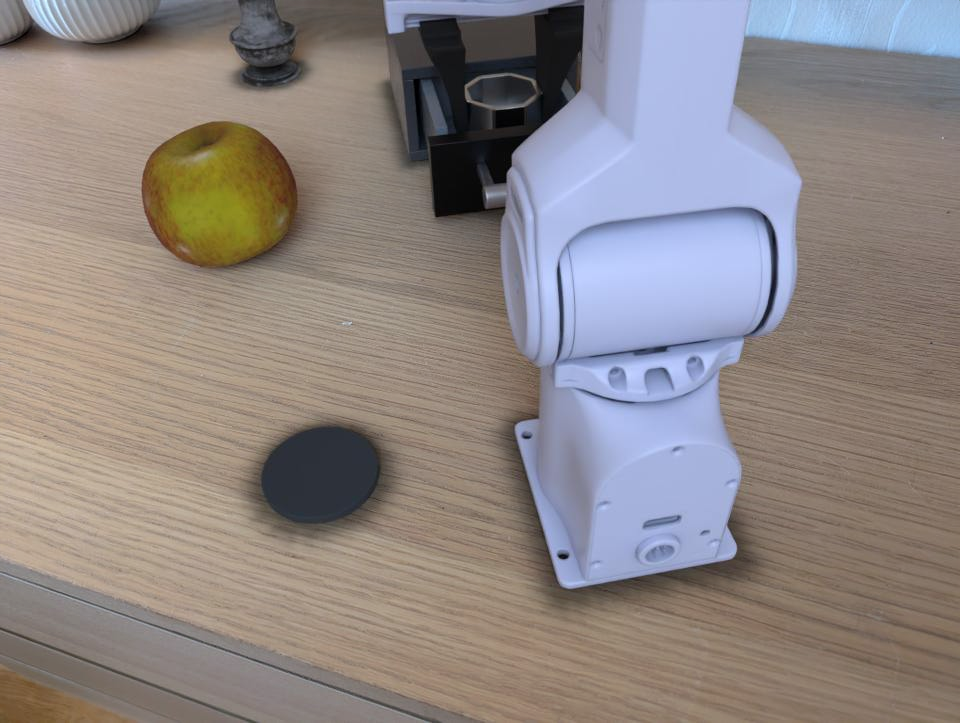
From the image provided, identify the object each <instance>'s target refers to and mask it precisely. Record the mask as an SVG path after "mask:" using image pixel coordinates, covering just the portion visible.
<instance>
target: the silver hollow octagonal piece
mask: <svg viewBox="0 0 960 723" xmlns="http://www.w3.org/2000/svg"><path fill="white" fill-rule="evenodd" d="M465 99H466V107H467V116H468V132H471V131H480V130H488V129H497V128H505V127H514V126H523V125H531V124H540V123H542V109H543V92H542V90H541V88H540V86H539V84H538V82H537V81H536V80H535V79H532V78H528V77H525V76H521V75H517V74H513V73H500V74H491V75H482V76H480V77H479V76H478V77H477V78H475V79H473V80H472V81H470V82H469V83H467V84H466V85H465Z"/></svg>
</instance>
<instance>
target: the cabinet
mask: <svg viewBox="0 0 960 723" xmlns="http://www.w3.org/2000/svg"><path fill="white" fill-rule="evenodd" d="M381 5H382V13H383V14H382V15H383V23H384V31H385V33H384V34H385V41H386V52H387V59H388V70H389V71H388V72H389V78H390V79H389V80H390V85H391V90H392V94H393V97H394V101H395V104H396V105H395V106H396V109H397V110H396V111H397V113H398V118H399V121H400V127H401V130H402V134H403V138H404V142H405V146H406V149H407V154H408V159H409V161H410V162H416V161H425V160H429V154H428V149H427V146H426V142H425V139H424V135H423V131H422V128H421V124H420V114H419V102H418V90H417V79H420V78H429V77H439V74H438V72H437V70H436V68H435V66H434V65H433V63H432V61H431V59H430V58H429V56H428V54H427V52H426V50H425V48H424V45H423V42H422V39H421V36H420V33H419V30H418V27H412V28H406V30H405V32H403V33H396V34H389V33H388V31H387V27H386V23H385V16H384V7H383V0H381ZM457 24H458V27H459V29H460V30H461V39H462V42H463V44H464V46H465V49H466V56H465V74H466V73H476V72H485V71H494V70H504V69H513V68H522V67H531V66H536V37H535V21H534V15H532V16H522V17H512V18H502V19H492V20H482V21H472V22H462V23H457ZM578 61H579V55H578V56H577V57H576V59H575V60H574V62H573V64H572V66H571V68H570V70H569V72H568V74H567V76H566V79H567V81H568V82H569V84H570V85H571V87H572V89H573V90H574V92H575V94H576V95H577V82H578V81H577V80H578V67H579V66H578V64H579V63H578Z"/></svg>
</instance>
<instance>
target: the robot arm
mask: <svg viewBox="0 0 960 723" xmlns="http://www.w3.org/2000/svg"><path fill="white" fill-rule="evenodd" d="M751 2H752V0H383V5H382V8H383V7H384V14H383V17H384V16H385V23H386V27H387V31H388V33H389V34H396V33H403V32H405V30H406V28H412V27H418V30H419V33H420V36H421V39H422V42H423V45H424V48H425V50H426V52H427V54H428V56H429V58H430V59H431V61H432V63H433V65H434V66H435V68H436V70H437V72H438V74H439V76H440V78H441V80H442V82H443V84H444V87H445V89H446V91H447V94H448V98H449V101H450V105H451V110H452V116H453V123H454V126H455V129H456V132H457V133H462V132H468V116H467V107H466V99H465V56H466V49H465V46H464V44H463V42H462V39H461V30H460V29H459V27H458V24H457V23H462V22H472V21H482V20H492V19H502V18H512V17H522V16H532V15H534V21H535V37H536V77H535V80H536V81H537V82H538V84H539V86H540V88H541V90H542V92H543V109H542V123H545V124H543V125H542V126H541V127H540V128H539V129H537V130H536V131H535V132H534V133H533V134H532V135H531V136H530V137H528V138H527V139H526V140H525V141H524V142H523V143H522V144H521V145H520V146H519V147H518V148H517V149H516V150H515V151H514V153H513V154H512V167H511V168H510V169H509V171H508V172H507V193H506V209H504V213H503V216H502V218H501V223H500V230H499V231H500V232H499V234H500V235H499V252H500V254H499V255H500V269H501V278H502V287H503V294H504V301H505V302H504V303H505V308H506V313H507V319H508V322H509V327H510V331H511V334H512V337H513V340H514V344H515V346H516V348H517V350H518V351H519V353H520V354H522V355H523V356H524V357H526V358H527V359H528V360H529V362H531V364H532V365H533V366H535V367H537V368H540V369H539V370H540V371H539V376H540V377H539V400H538V401H539V402H538V418H533V419H526V420H521V421H518V422H517V423H516V424H515V425H514V437H515V439H516V443H517V446H518V449H519V454H520V456H521V460H522V463H523V467H524V471H525V474H526V477H527V480H528V484H529V488H530V491H531V494H532V498H533V501H534V503H535V504H534V505H535V509H536V511H537V516H538V518H539V522H540V525H541V529H542V533H543V536H544V539H545V542H546V545H547V549H548V552H549V556H550V559H551V563H552V566H553V570H554V573H555V576H556V580H557V582H558V584H559V585H560V587H562V588H565V589H567V590H572V589H573V590H574V589H578V588H584V587H589V586H595V585H600V584H605V583H611V582H616V581H623V580H627V579H632V578H636V577H642V576H643V577H644V576H648V575H655V574H660V573H665V572H666V573H667V572H670V571H676V570H681V569H687V568H693V567H698V566H703V565H708V564H714V563H720V562H725V561H730V560H732V559H734V558H735V556H736V555H737V552H738V545H737V543H736V540H735V539H734V536H733V534H732V533H731V530H730V528H729V526H728V522H729V520H730V517H731V513H732V510H733V506H734V503H735V500H736V497H737V494H738V490H739V487H740V484H741V480H742V473H743V469H742V463H741V460H740V457H739V454H738V451H737V450H736V448H735V446H734V444H733V441H732V439H731V437H730V434H729V432H728V430H727V427H726V425H725V420H724V417H723V412H722V408H721V404H720V384H719V382H720V374H721V369H722V368H724V367H727V366H728V365H734V364H737V363H739V362H740V358H741V355H742V351H743V348H744V347H743V346H744V344H745V340H746V339H745V338H760V337H765V336H767V335H769V334H771V333H772V332H773V331H775V330H776V329H777V328H778V326H779V324H780V323H781V321H782V320H783V318H784V317H785V314H786V311H787V310H788V308H789V306H790V305H791V304H790V303H791V302H792V300H793V296H794V293H795V290H796V285H797V278H798V267H799V266H798V265H799V264H798V262H799V260H798V259H799V258H798V243H797V237H796V234H797V216H798V209H799V208H798V207H799V201H800V195H801V190H802V186H803V179H802V177H801V175H800V174H799V171H798V169H797V167H796V165H795V162H794V160H793V158H792V155H791V154H790V153H789V152H788V150H787V148H786V147H785V146H784V144H783V143H782V142H781V141H780V140H779V139H778V137H777V136H776V135H775V134H774V133H773V132H772V131H771V130H769V129H768V128H767V127H765V126H764V125H763V124H762V123H760V122H759V121H758V120H757V119H755V118H754V117H753V116H751V115H750V114H748V113H747V112H746V111H744V110H743V109H742V108H740V107H739V106H738V105H736V104H735V103H734V100H735V95H736V88H737V82H738V77H739V72H740V65H741V59H742V55H743V48H744V43H745V36H746V31H747V24H748V19H749V14H750V8H751ZM582 48H583V49H582ZM581 49H582V61H581V72H580V89H579V91H578V92H576V96H575V97H574V98H573V99H572V100H571V101H570V102H569V103H568V104H567V105H566V106H564V107H563V108H562V109H561V110H560V111H559V112H557V113H556V114H555V115H554V116H553V113H554V110H555V106H556V103H557V100H558V96H559V94H560V91H561V88H562V86H563V83H564V81H565V78H566V76H567V74H568V72H569V70H570V68H571V66H572V64H573V62H574V60H575V59H576V57H577V56H578V57H579V54H580V51H581ZM525 437H529V438H525ZM560 555H565V556H567V558H565V559H563V558H560V557H559V556H560Z"/></svg>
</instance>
